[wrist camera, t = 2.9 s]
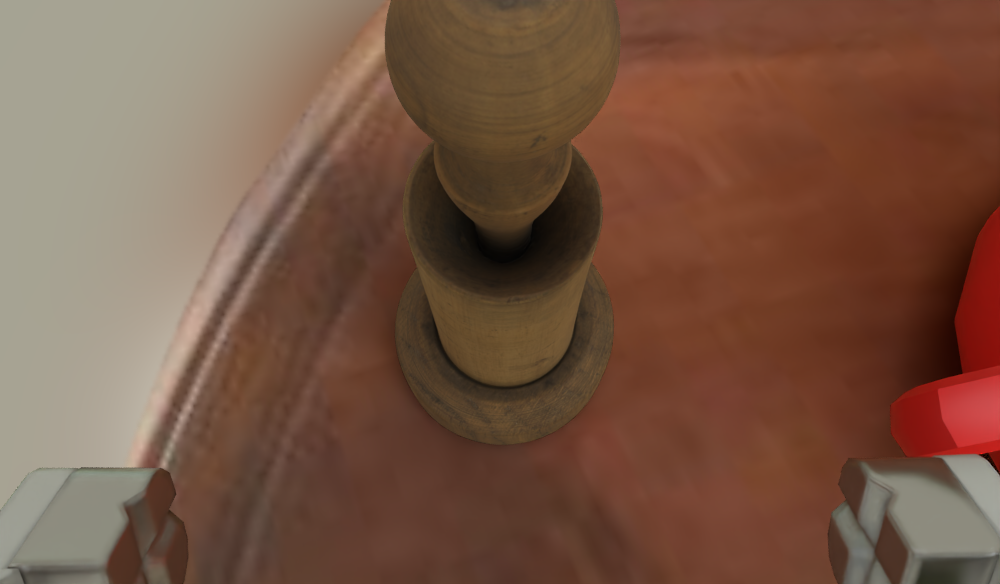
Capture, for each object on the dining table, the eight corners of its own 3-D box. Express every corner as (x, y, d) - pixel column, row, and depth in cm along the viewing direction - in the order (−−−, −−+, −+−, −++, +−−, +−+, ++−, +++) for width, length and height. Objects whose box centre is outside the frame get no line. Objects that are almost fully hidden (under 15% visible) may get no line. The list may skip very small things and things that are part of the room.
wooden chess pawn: (471, 211, 28) (416, -322, 11) (642, 304, 27) (886, -120, 10) (363, 380, 26) (95, 70, 9) (542, 486, 25) (622, 361, 8)
